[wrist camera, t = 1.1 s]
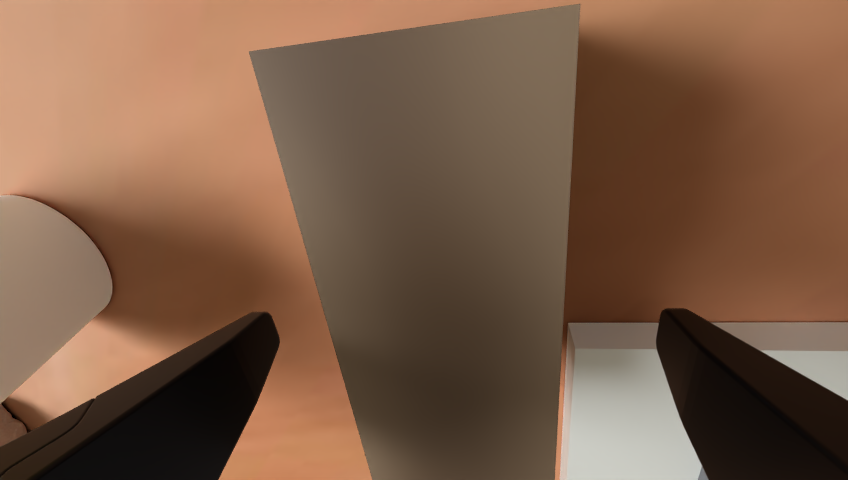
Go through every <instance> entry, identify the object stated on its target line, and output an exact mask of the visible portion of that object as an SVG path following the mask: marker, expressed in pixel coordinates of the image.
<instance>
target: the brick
mask: <svg viewBox="0 0 848 480" xmlns="http://www.w3.org/2000/svg"><path fill="white" fill-rule="evenodd" d="M26 433H27V431H26V427H25V426H24V424H23V423H22V422H21V421H19V420H16V419H14V418H12V416H11V414H10V413H9V412H7V410H6V409H5V408H4V407H3V406H2V404H0V446H2V445H5V444H7V443H8V442H10V441H12V440H14V439H16V438H18V437H20V436H22V435H24V434H26Z"/></svg>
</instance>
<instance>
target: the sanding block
mask: <svg viewBox="0 0 848 480" xmlns="http://www.w3.org/2000/svg"><path fill="white" fill-rule="evenodd" d="M579 19H580V4H575V5H568V6H561V7H554V8H547V9H540V10H534V11H527V12H520V13H513V14H506V15H499V16H492V17H485V18H478V19H471V20H464V21H457V22H450V23H443V24H436V25H430V26H423V27H416V28H409V29H402V30H395V31H388V32H381V33H374V34H367V35H360V36H353V37H346V38H339V39H333V40H326V41H319V42H312V43H305V44H298V45H291V46H284V47H277V48H270V49H263V50H256V51H249V54H250V57H251V61H252V64H253V68H254V71H255V75H256V78H257V82H258V85H259V89H260V92H261V96H262V99H263V102H264V106H265V109H266V113H267V116H268V120H269V123H270V127H271V130H272V134H273V137H274V141H275V144H276V147H277V151H278V154H279V158H280V161H281V165H282V168H283V172H284V175H285V179H286V182H287V186H288V189H289V192H290V196H291V199H292V203H293V206H294V210H295V213H296V217H297V220H298V224H299V227H300V231H301V234H302V237H303V241H304V244H305V248H306V251H307V255H308V258H309V262H310V265H311V269H312V272H313V275H314V279H315V282H316V286H317V289H318V293H319V296H320V300H321V303H322V307H323V310H324V314H325V317H326V320H327V324H328V327H329V331H330V334H331V338H332V341H333V345H334V348H335V352H336V355H337V359H338V362H339V365H340V369H341V372H342V376H343V379H344V383H345V386H346V390H347V393H348V397H349V400H350V404H351V407H352V410H353V414H354V417H355V421H356V424H357V428H358V431H359V435H360V438H361V442H362V445H363V449H364V452H365V455H366V459H367V462H368V466H369V469H370V473H371V476H372V480H555V463H556V445H557V426H558V408H559V389H560V371H561V352H562V334H563V315H564V297H565V278H566V260H567V241H568V223H569V204H570V186H571V167H572V149H573V130H574V111H575V93H576V74H577V56H578V37H579Z"/></svg>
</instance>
